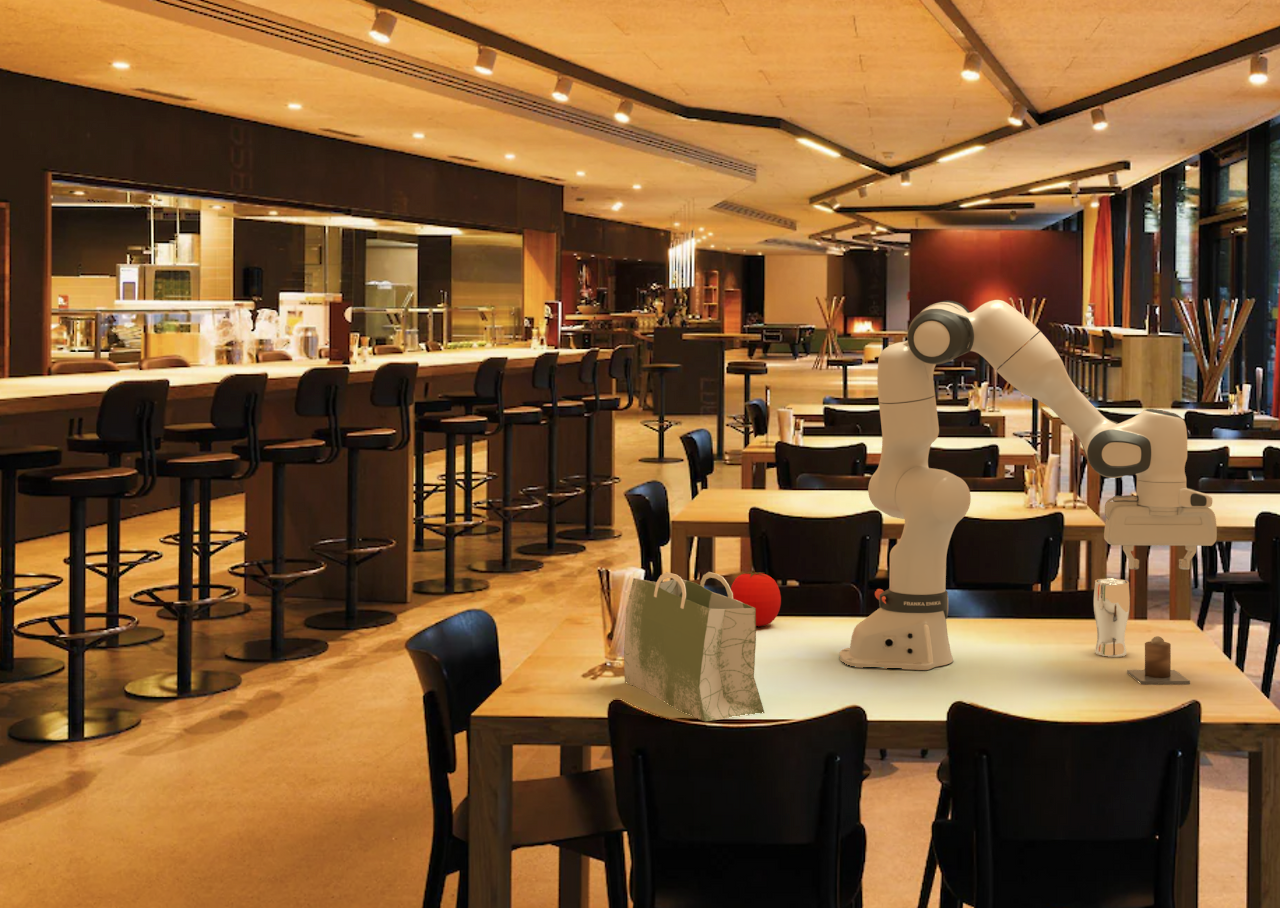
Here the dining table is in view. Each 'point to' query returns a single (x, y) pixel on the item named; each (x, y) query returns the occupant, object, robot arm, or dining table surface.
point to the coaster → (1143, 679)
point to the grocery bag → (692, 647)
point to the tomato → (758, 595)
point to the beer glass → (1111, 616)
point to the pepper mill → (1157, 658)
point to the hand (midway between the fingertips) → (1158, 568)
